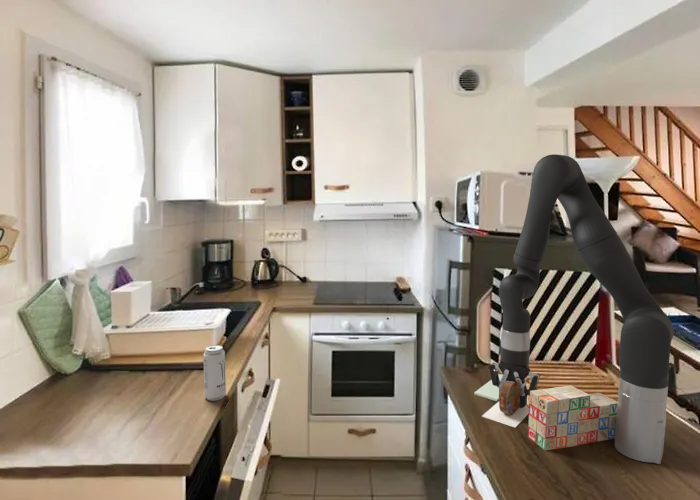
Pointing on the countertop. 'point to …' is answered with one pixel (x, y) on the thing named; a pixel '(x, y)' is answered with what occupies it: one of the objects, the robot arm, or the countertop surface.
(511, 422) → the tile
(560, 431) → the stack of blocks
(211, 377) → the energy drink can
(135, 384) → the countertop surface
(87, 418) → the countertop surface
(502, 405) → the tin
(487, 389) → the pad
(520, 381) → the robot arm
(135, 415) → the countertop surface
